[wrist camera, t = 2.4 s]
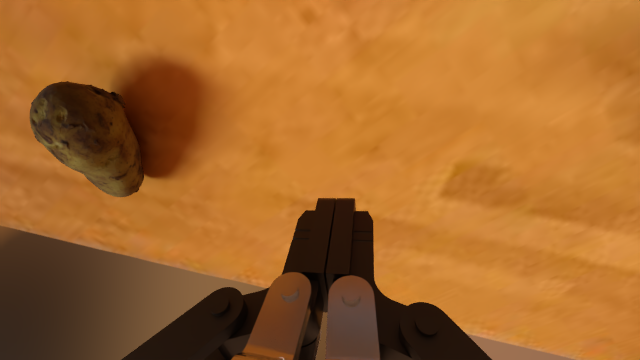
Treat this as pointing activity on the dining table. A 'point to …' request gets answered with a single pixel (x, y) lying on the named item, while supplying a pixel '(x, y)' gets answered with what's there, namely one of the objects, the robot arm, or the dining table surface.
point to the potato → (89, 135)
